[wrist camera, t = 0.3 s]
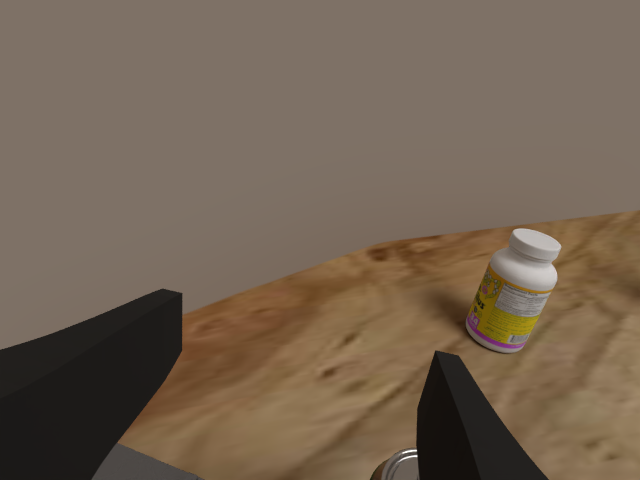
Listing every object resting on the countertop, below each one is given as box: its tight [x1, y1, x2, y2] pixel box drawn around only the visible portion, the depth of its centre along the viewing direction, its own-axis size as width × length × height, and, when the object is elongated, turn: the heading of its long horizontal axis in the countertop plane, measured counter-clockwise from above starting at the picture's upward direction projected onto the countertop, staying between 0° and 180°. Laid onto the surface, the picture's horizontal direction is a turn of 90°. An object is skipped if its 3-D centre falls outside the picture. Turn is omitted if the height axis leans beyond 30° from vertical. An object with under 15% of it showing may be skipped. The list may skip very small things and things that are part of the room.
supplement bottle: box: [466, 229, 561, 353], centre depth 45 cm, size 7×7×13 cm
